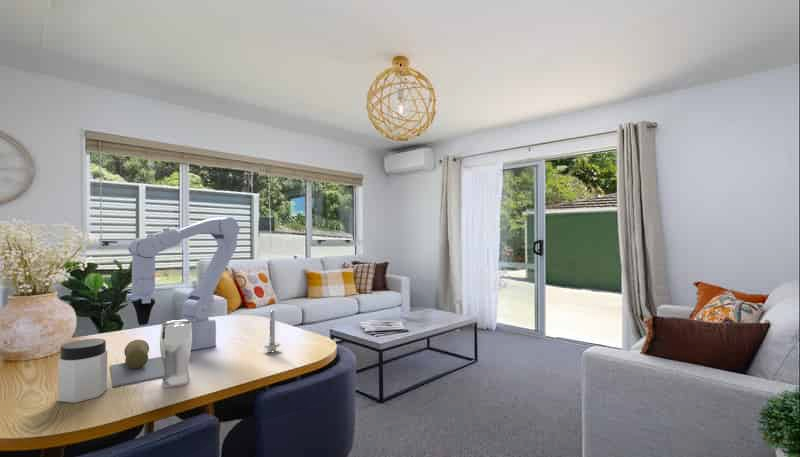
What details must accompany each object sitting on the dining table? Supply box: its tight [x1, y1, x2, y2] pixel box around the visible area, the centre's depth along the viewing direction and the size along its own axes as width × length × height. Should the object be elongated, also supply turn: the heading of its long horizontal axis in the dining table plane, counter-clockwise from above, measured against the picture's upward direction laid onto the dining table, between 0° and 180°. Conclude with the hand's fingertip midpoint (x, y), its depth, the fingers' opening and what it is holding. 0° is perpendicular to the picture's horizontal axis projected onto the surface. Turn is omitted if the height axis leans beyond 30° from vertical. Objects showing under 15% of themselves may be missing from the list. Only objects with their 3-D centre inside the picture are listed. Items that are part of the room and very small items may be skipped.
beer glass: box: [159, 319, 192, 389], centre depth 96 cm, size 7×7×15 cm
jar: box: [57, 338, 108, 404], centre depth 89 cm, size 9×8×12 cm
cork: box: [124, 339, 150, 369], centre depth 108 cm, size 6×6×11 cm
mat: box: [109, 356, 164, 388], centre depth 105 cm, size 15×18×1 cm
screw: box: [263, 310, 281, 353], centre depth 122 cm, size 13×5×5 cm
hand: (143, 324), depth 113 cm, fingers closed
